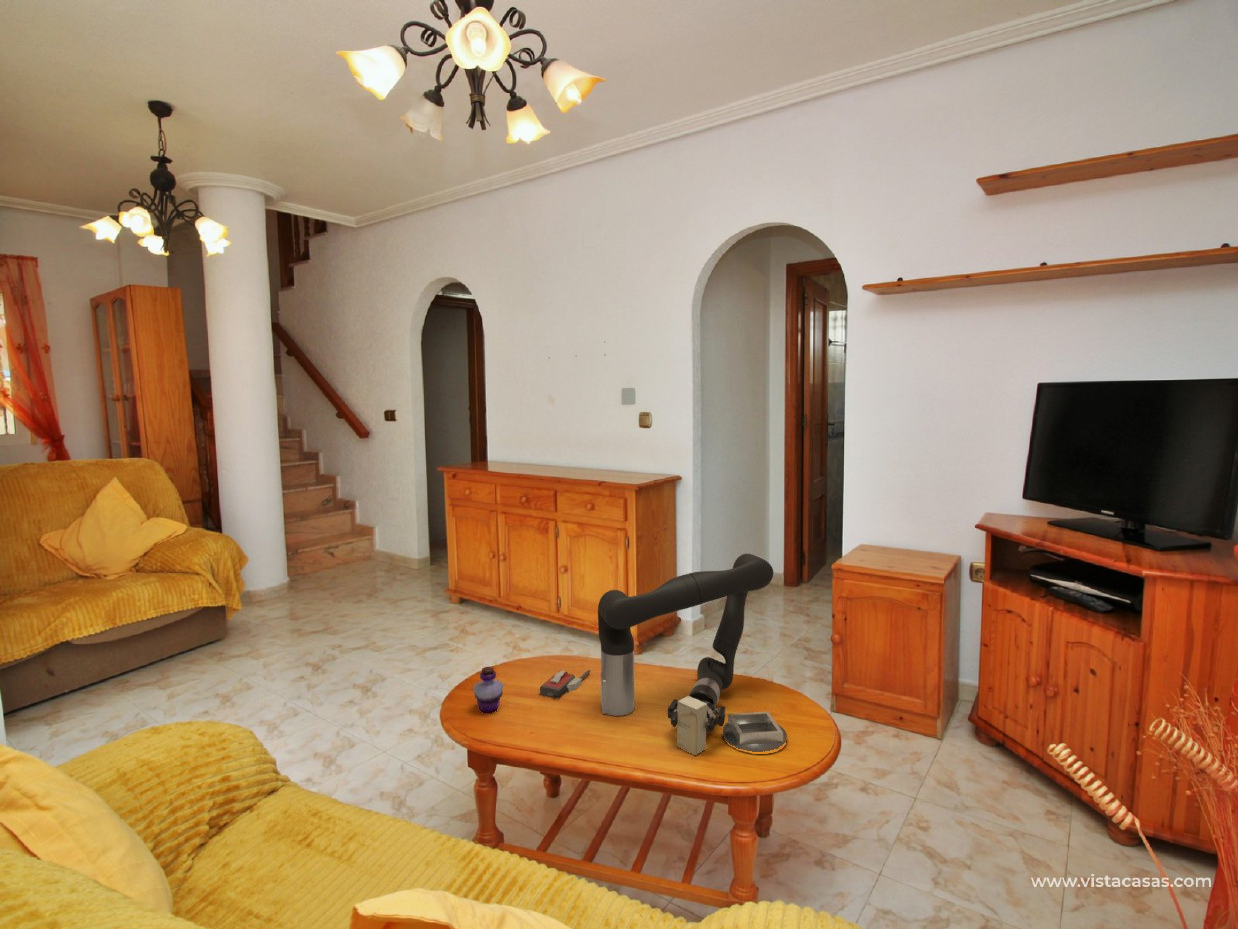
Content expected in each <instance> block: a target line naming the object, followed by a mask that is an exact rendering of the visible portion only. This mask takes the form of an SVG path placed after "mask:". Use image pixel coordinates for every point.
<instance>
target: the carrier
mask: <svg viewBox="0 0 1238 929" xmlns="http://www.w3.org/2000/svg"><path fill="white" fill-rule="evenodd" d="M722 727H723V728H722V737H723V736H724V739H725V740H726V741H727V742H728V743H729V744H730V745H732V746H735V747H736V748H738V749H743V750H747V751H752V752H763V751H764V752H765V751H770V750H774V749H778V748H779V747H780V746H782V745H783V744H784V743H785V742H786V739H787V738H788V734H787V732H786V730H785V729H784V728H783V727H782V726H781V725H779V723H777V721H776V720H775V718H774V717H773V716H772V714H771V713H770V711H756V712H755V711H754V712H740V713H739V712H738V713H728V714H727V722H726V723H724V725H723V726H722ZM724 739H723V740H724ZM787 740H788V739H787Z"/></svg>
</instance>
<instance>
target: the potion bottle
mask: <svg viewBox="0 0 1238 929" xmlns="http://www.w3.org/2000/svg"><path fill="white" fill-rule="evenodd" d="M496 677H497V672H496V671H495V668H494V667H492V666H485V667H482V668H481V672H480V673H479V679H480V680H481V681H478V682H476V683H475V684H474V685H473V687H472V691H473V694H474V697H475V698H474V699H476V702H477V706H478V709H479V710H480V711H481V712H483V713H492V712H495V711H496V712H495V713H497V712H498V711H497V709H498V707H499V706H500V701H501V698H503V690H504V685H505V684H504V683H503V681H500V680H499V679H495V678H496ZM499 708H500V707H499ZM479 710H478V711H479ZM498 710H499V709H498ZM480 711H479V712H480ZM481 712H480V713H481ZM492 714H493V713H492Z"/></svg>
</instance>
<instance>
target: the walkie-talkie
mask: <svg viewBox="0 0 1238 929" xmlns="http://www.w3.org/2000/svg"><path fill="white" fill-rule="evenodd" d="M590 673H591V669H587V670H586V671H585V672H584V673H583V674H582V675H581V676H580V677H576V675H575V674H572V673H569V672H568V671H565V670H559V671H558V672H556V673H555V674H553V675H552V676H551V677H550V678H548V680H546V681H544V683H543V684H541V685H540V687H539V695H540V696H541V695H543V697H546V696H547V698H552V699H559V698H561V697H562V696H563V695H564V694H565V693H567V692H568V691H569V692H573V691H575V690H576V688H577V689H578V688H579V687H581V686H582V683H583V682H582V681H583V680H584V679H585V678H586V677H587V676H588V675H589V674H590ZM561 695H562V696H561Z"/></svg>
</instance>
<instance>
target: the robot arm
mask: <svg viewBox="0 0 1238 929" xmlns="http://www.w3.org/2000/svg"><path fill="white" fill-rule="evenodd" d="M773 578H774V569H773V566H772V565H771V563H769V562H768V561H767V560H765V559H764V558H762V557H759V556H757V555H754V554H752V553H744V554H743V553H742V554H741V555H739V556H738V557H736V559H735V561H734V562H733V565H732V568H729V569H725V570H704V571H703V570H701V571H695V572H690V573H689V572H688V573H685V574H682V575H678V576H675V577H673V578H670V579H668V580H667V581H665V582H664V583H662V584H661V585H659V586H658V587H657V588H655V589H654V590H651V591H649V592H646V593H643V594H641V593H640V594H637V595H632V596H628V594H626V593H624V591H622V590H618V589H611V590H608V591H606V592H605V593H604V594H602V596H601V597H600V599H599V600H598V606H597V622H598V623H597V625H598V627H597V628H598V637H599V641H600V671H601V672H600V708H601V713H602V715H608V716H614V717H615V716H616V717H620V716H626V715H630V714H631V713H633V712H634V711H635V702H636V701H635V640H634V637H633V635H632V631H631V628H633V627H635V626H637V625H639V624H642V623H644V622H647V621H649V620H651V619H654V618H657V617H660V616H665V615H668V614H672V613H676V612H679V611H682V610H687V609H690V608H694V607H697V606H701V605H702V604H706V603H709V602H712V601H715V600H719V599H721V598H726V599H725V600H726V601H725V604H724V608H723V613H722V616H721V619H720V622H719V624H718V625H719V626H718V628H717V631H716V633H715V636H714V640H713V642H712V648H713V650H714V651H715V652H717V653H718V654H720V655H721V656H722V657H723V658H724V662H722V661H720V660H718V659H715V658H714V657H710V656H706V657H703V658H702V659H701V660H700V661H699V663H698V666H697V670H696V672H697V673H696V676H697V680H696V682H695V684H694V685H693V687H692V689H691V690H690V692H689V693H688V694H689V695H688V696H690V697H693V698H695V699H697V700H700V701H702V702H704V703H707V721H706V733H708V734H709V733H710V734H711V732H713V731H714V729H715V727H716V726H717V725H718V726H719V727H724V725H725V719H726V706H724V705H722V706H720V708H716V707H717V705H718V703H719V701H720V695H721V693H722V691H723V690H727V689H729V687H730V686H731V685H732V684H733V681H734V669H735V668H734V666H735V657H736V653H737V651H738V646H739V643H740V641H741V638H742V636H743V632H744V627H745V607H746V601H747V596H748V593H749V592H752V591H758V590H762V589H764V588H765V587H767V586H769V584H770V583H771V581H772V580H773ZM678 701H679V699H677V698H674V699H673V700H672V702H671V703H670V704H669V706H668V707H667V719H669V720H670V725H672V728H676V727H677V719H678ZM715 714H716V715H717V716H716V715H715Z"/></svg>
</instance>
